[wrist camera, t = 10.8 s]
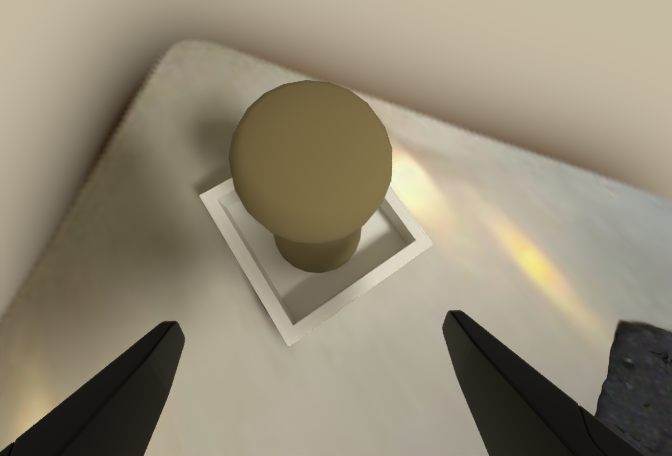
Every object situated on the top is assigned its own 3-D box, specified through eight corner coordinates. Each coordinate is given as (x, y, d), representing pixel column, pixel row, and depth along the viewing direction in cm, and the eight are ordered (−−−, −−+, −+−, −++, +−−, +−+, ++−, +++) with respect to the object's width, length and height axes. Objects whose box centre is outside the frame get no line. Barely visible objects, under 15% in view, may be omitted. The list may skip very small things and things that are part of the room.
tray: (293, 338, 16) (288, 347, 14) (215, 207, 18) (199, 195, 16) (418, 249, 18) (433, 243, 16) (337, 138, 20) (339, 118, 18)
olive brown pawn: (376, 215, 18) (457, 106, 7) (333, 290, 17) (353, 295, 6) (304, 173, 18) (278, 12, 8) (255, 243, 17) (142, 167, 6)
